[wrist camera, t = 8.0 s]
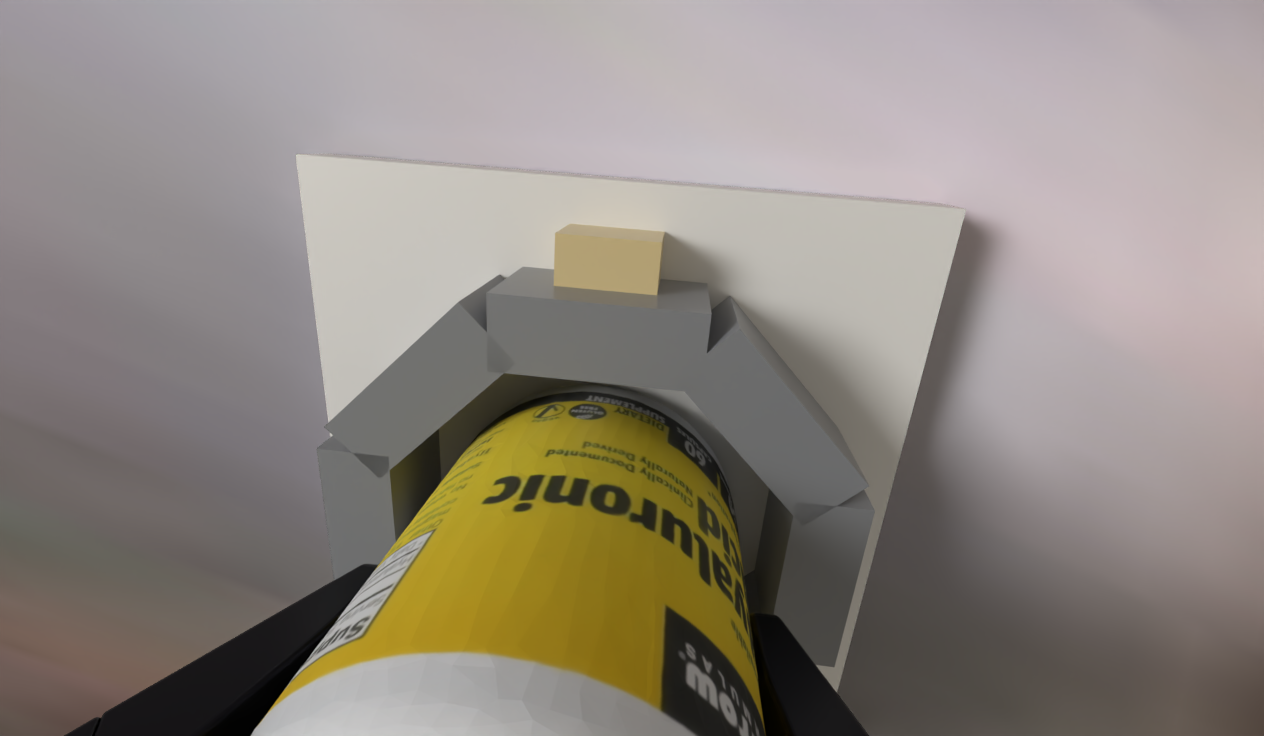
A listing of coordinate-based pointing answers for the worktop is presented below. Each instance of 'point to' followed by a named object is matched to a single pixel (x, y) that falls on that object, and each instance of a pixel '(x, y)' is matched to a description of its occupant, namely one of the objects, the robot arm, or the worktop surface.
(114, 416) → the worktop surface
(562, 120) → the worktop surface
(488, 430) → the supplement bottle
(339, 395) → the socket base
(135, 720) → the robot arm
